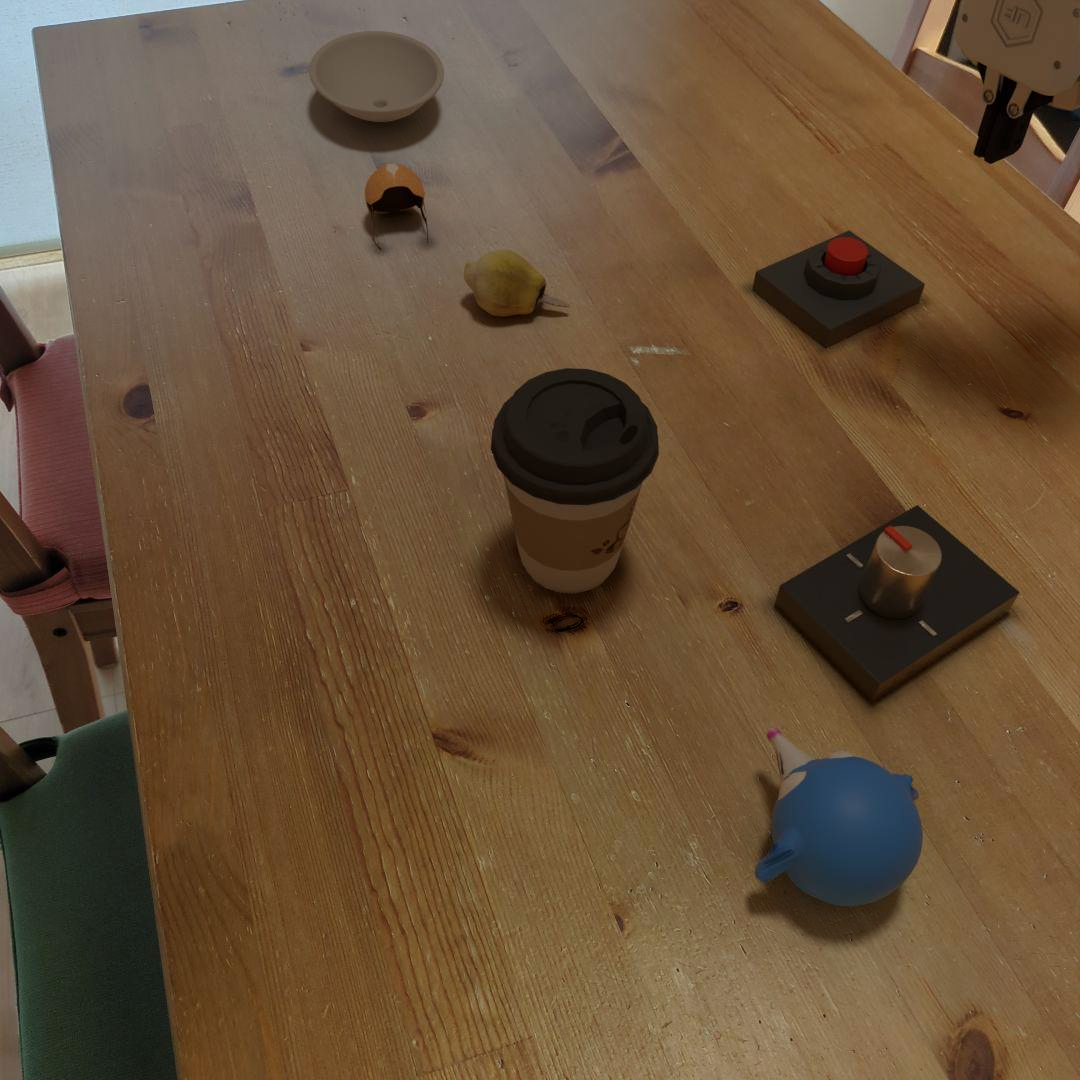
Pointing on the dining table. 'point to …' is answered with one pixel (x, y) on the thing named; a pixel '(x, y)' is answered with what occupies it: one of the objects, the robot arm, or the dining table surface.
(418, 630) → the dining table surface
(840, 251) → the button
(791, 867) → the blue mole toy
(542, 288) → the fruit
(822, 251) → the button box
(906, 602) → the dial knob
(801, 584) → the dial panel
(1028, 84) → the robot arm
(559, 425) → the coffee cup
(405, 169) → the helmet
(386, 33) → the dish
